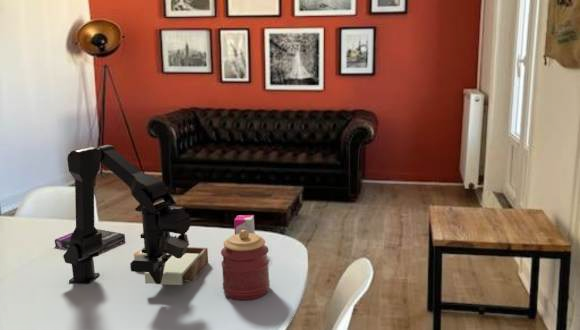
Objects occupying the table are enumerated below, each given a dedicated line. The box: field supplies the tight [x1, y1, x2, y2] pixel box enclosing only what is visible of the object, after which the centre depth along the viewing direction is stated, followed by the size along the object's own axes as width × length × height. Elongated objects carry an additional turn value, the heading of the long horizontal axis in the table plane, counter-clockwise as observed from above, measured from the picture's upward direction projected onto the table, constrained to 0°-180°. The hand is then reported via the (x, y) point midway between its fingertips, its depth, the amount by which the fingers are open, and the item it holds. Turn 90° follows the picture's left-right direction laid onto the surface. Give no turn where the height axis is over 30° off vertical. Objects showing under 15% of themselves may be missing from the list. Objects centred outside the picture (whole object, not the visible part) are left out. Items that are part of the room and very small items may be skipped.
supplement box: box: [233, 214, 256, 235], centre depth 181 cm, size 6×6×12 cm
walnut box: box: [182, 246, 209, 282], centre depth 166 cm, size 14×10×5 cm
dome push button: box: [133, 249, 147, 260], centre depth 171 cm, size 6×6×4 cm
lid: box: [144, 253, 200, 286], centre depth 157 cm, size 16×10×3 cm
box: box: [54, 228, 126, 254], centre depth 192 cm, size 14×4×20 cm
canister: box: [220, 230, 271, 301], centre depth 150 cm, size 13×13×18 cm
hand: (158, 283), depth 147 cm, fingers closed
